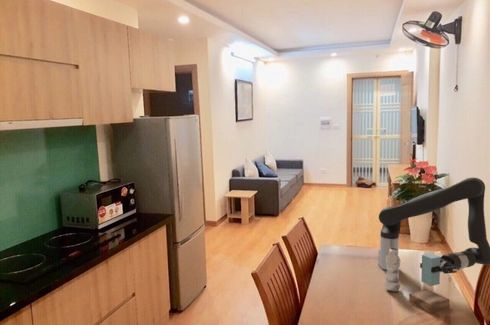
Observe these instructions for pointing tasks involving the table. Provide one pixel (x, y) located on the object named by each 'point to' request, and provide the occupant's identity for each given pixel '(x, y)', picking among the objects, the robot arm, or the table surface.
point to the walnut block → (429, 300)
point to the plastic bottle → (392, 270)
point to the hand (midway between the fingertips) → (426, 268)
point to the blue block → (426, 273)
